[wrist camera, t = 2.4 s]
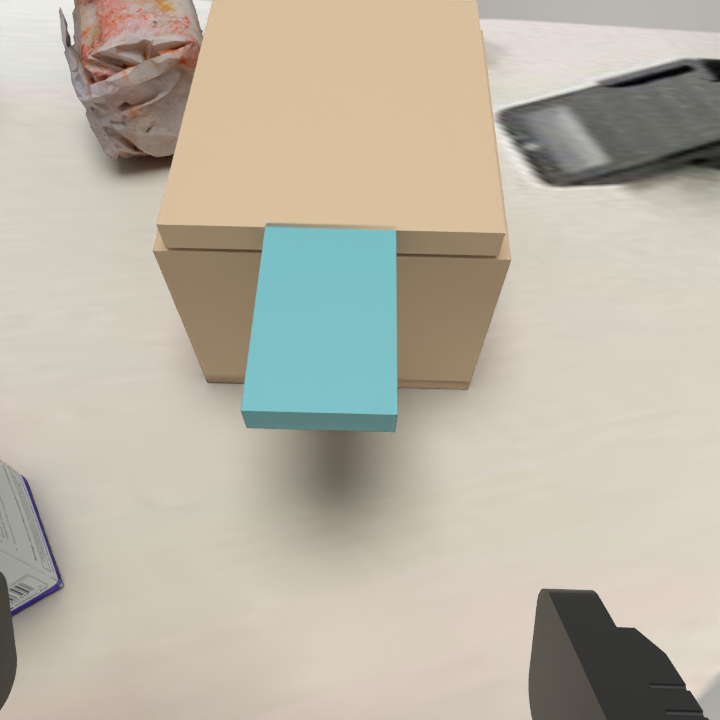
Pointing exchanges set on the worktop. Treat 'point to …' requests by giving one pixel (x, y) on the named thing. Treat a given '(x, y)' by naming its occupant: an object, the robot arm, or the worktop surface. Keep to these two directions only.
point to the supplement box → (23, 544)
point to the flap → (334, 184)
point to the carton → (414, 306)
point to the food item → (134, 70)
